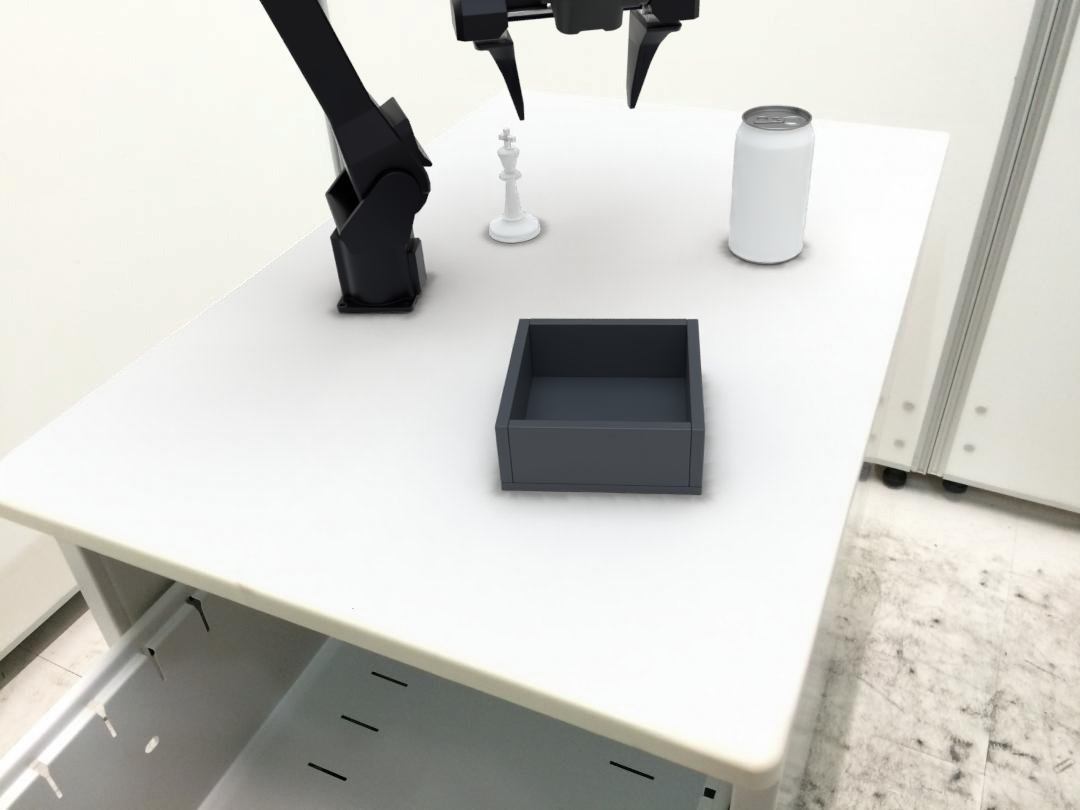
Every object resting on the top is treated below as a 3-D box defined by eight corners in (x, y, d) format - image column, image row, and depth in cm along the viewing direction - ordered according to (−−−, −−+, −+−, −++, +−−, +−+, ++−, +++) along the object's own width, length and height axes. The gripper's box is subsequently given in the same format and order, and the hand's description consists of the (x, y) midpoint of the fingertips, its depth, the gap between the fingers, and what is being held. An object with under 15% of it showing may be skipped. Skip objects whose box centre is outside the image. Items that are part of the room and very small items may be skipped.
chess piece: (512, 215, 92) (503, 115, 87) (551, 227, 90) (545, 125, 84) (478, 234, 90) (467, 132, 84) (517, 247, 87) (509, 143, 81)
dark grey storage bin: (501, 490, 60) (494, 426, 57) (524, 376, 70) (519, 318, 67) (701, 494, 58) (705, 430, 55) (695, 378, 68) (698, 318, 65)
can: (802, 267, 81) (819, 131, 74) (726, 264, 82) (734, 130, 75) (801, 233, 86) (816, 103, 79) (729, 231, 87) (737, 102, 80)
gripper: (450, -68, 61) (473, 161, 70) (728, -92, 63) (715, 135, 72) (439, -95, 70) (461, 112, 79) (683, -115, 72) (676, 90, 81)
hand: (576, 113), depth 78 cm, fingers open, 9 cm apart
